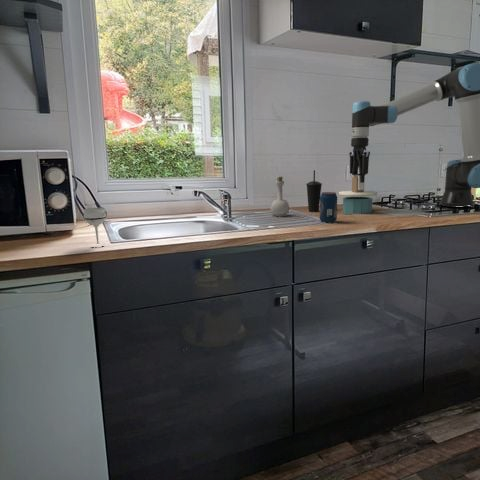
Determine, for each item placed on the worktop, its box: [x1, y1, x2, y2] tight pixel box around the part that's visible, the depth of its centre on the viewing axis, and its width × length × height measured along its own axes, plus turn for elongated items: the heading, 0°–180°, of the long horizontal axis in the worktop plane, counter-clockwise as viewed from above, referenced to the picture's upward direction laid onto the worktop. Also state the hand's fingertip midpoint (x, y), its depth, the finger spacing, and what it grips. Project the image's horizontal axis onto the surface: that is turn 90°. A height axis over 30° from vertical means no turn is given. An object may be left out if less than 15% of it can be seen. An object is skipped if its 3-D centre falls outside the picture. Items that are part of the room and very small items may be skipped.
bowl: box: [342, 196, 373, 216], centre depth 181 cm, size 13×13×7 cm
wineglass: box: [83, 207, 107, 244], centre depth 123 cm, size 7×7×12 cm
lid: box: [338, 176, 378, 197], centre depth 179 cm, size 17×17×8 cm
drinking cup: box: [305, 170, 323, 213], centre depth 188 cm, size 8×8×20 cm
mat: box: [374, 208, 433, 217], centre depth 177 cm, size 18×18×1 cm
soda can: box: [319, 191, 338, 223], centre depth 159 cm, size 7×7×12 cm
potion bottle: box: [270, 176, 290, 217], centre depth 178 cm, size 9×9×18 cm
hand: (357, 189), depth 180 cm, fingers closed on lid, 4 cm apart
